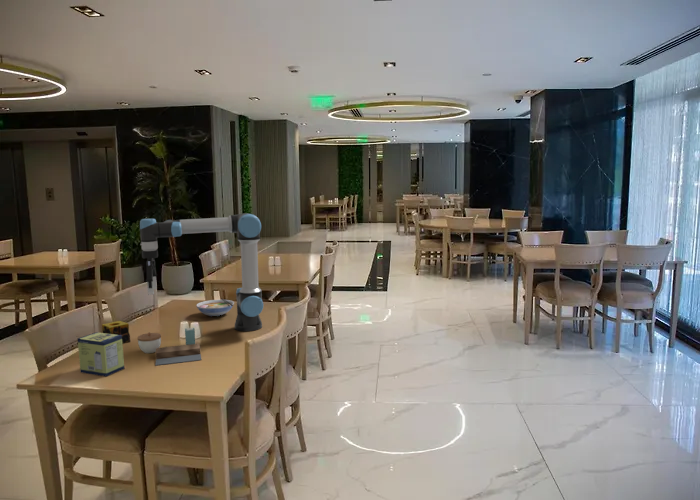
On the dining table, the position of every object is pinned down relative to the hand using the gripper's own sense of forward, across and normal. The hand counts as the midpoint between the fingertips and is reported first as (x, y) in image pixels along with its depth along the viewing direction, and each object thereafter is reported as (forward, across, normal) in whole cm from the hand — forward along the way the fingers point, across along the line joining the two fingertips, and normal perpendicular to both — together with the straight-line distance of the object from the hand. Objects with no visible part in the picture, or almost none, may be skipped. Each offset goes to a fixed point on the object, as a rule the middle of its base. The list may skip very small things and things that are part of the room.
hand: (152, 291), depth 265 cm
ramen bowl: (+28, -52, +30) cm, 66 cm away
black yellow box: (+28, -10, -20) cm, 36 cm away
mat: (+27, +28, +13) cm, 41 cm away
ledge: (+27, +20, +12) cm, 36 cm away
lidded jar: (+28, +10, -2) cm, 30 cm away
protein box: (+28, +33, -19) cm, 47 cm away
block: (+28, +9, +17) cm, 34 cm away
